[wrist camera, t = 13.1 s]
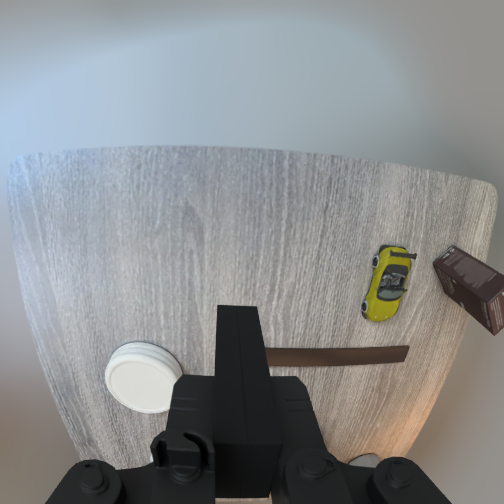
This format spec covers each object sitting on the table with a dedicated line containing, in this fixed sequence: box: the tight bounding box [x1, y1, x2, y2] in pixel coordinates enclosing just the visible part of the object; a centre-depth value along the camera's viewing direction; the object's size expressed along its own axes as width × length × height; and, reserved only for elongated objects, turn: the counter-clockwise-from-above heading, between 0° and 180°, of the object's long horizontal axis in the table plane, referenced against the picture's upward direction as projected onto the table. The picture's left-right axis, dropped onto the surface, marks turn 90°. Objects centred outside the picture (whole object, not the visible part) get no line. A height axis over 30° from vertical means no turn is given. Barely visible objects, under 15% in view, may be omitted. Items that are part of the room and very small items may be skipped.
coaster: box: [105, 342, 182, 413], centre depth 37 cm, size 10×10×4 cm
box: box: [433, 246, 504, 336], centre depth 32 cm, size 6×4×12 cm
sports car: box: [362, 245, 417, 322], centre depth 36 cm, size 5×10×3 cm, turn 173°
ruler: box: [265, 346, 410, 367], centre depth 40 cm, size 3×22×1 cm, turn 84°
